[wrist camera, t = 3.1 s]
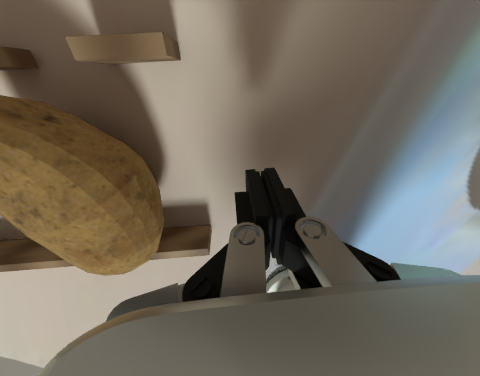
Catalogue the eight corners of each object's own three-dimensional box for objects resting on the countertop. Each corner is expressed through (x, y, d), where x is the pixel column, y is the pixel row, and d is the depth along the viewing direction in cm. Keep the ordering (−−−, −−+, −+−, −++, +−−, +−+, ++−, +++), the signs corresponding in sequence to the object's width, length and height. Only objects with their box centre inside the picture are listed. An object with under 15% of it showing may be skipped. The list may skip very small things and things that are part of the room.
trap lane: (177, 42, 12) (155, 27, 9) (211, 230, 22) (208, 263, 18) (-221, 63, 12) (-434, 57, 8) (-9, 247, 21) (-60, 285, 18)
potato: (98, 60, 13) (-47, 42, 6) (197, 205, 20) (181, 271, 13) (-1, 116, 14) (-208, 153, 8) (124, 232, 21) (75, 305, 15)
